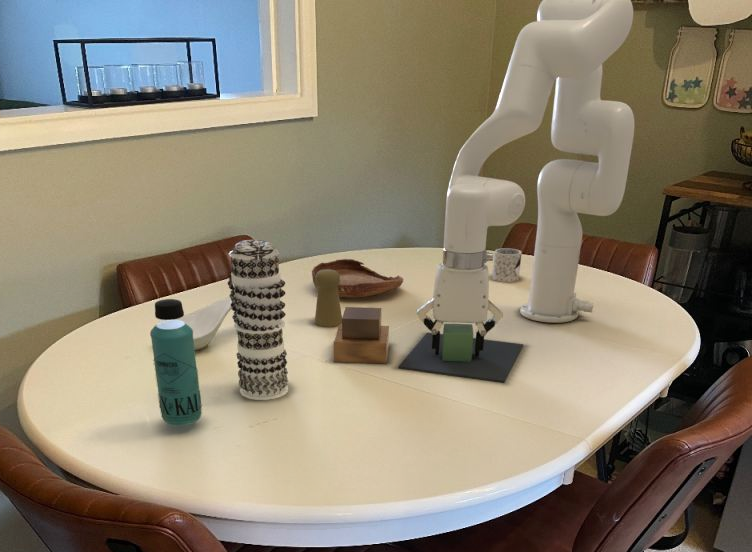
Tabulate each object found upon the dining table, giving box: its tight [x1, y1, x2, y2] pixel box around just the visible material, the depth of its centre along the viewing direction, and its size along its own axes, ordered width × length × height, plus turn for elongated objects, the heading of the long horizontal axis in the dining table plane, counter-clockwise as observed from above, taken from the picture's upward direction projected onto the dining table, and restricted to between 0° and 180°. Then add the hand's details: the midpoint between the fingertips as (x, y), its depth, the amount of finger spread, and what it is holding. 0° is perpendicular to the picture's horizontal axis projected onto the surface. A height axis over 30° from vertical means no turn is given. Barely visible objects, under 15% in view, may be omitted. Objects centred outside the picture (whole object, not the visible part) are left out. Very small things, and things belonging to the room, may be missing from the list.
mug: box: [492, 247, 523, 283], centre depth 195 cm, size 10×7×7 cm
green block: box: [442, 322, 474, 362], centre depth 147 cm, size 6×6×6 cm
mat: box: [397, 332, 524, 384], centre depth 149 cm, size 20×20×1 cm
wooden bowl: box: [311, 258, 404, 298], centre depth 184 cm, size 22×20×5 cm
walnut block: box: [342, 306, 383, 340], centre depth 147 cm, size 7×7×4 cm
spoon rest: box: [174, 297, 236, 351], centre depth 155 cm, size 24×12×7 cm, turn 135°
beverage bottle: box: [149, 298, 203, 426], centre depth 118 cm, size 6×7×20 cm
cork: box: [314, 269, 343, 328], centre depth 163 cm, size 6×6×11 cm
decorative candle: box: [227, 239, 289, 401], centre depth 128 cm, size 9×9×25 cm
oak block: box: [333, 324, 390, 364], centre depth 149 cm, size 10×10×4 cm
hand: (456, 352), depth 148 cm, fingers open, 7 cm apart
